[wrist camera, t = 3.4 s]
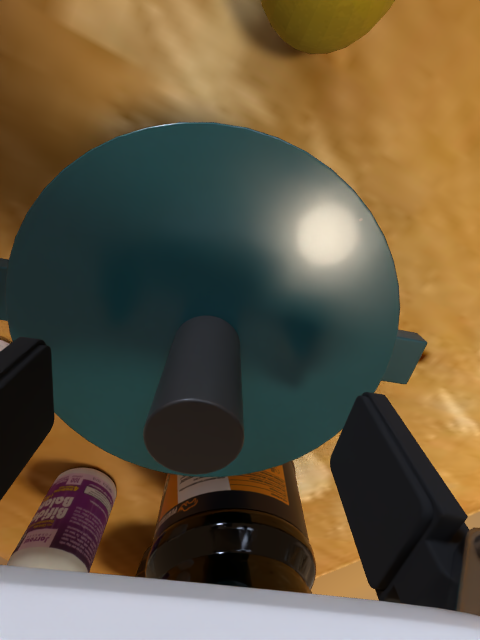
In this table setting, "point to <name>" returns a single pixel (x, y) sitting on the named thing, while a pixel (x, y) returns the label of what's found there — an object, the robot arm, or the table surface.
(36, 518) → the pill bottle
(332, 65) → the table surface
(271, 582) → the supplement container
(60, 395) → the cooker lid
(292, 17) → the lemon
